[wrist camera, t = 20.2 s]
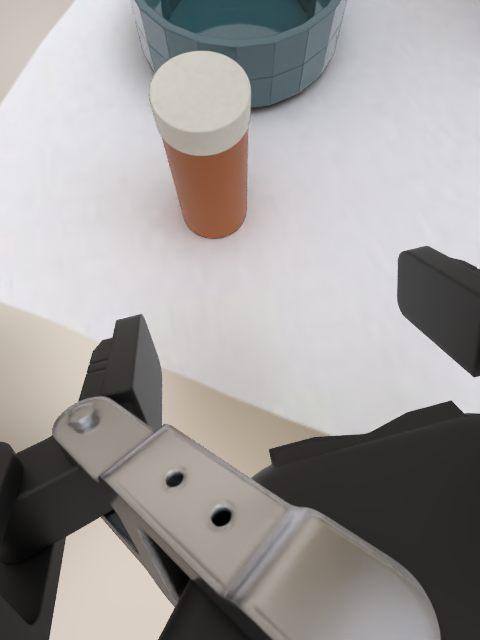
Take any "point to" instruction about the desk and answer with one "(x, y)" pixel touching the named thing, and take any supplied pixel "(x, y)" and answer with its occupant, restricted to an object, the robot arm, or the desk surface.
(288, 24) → the bowl
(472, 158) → the desk surface
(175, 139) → the pill bottle
